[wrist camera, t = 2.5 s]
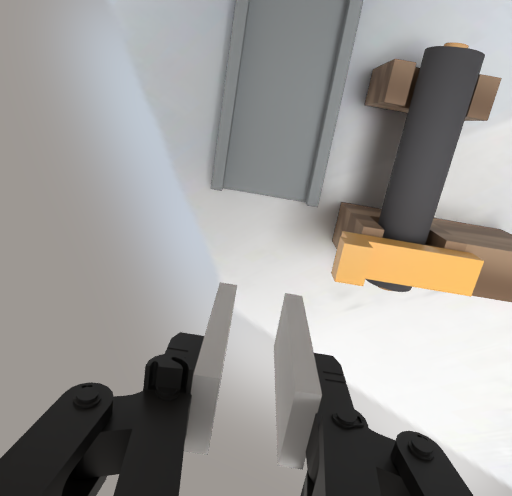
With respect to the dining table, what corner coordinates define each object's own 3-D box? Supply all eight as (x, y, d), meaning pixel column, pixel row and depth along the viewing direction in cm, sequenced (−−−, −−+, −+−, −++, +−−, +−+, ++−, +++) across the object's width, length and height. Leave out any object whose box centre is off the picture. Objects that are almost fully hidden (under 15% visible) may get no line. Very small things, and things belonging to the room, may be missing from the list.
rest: (373, 69, 35) (395, 58, 29) (461, 85, 35) (501, 78, 29) (364, 105, 36) (384, 102, 30) (450, 120, 36) (487, 120, 30)
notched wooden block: (341, 202, 38) (363, 226, 30) (500, 229, 39) (569, 261, 30) (332, 240, 40) (350, 275, 31) (486, 267, 40) (549, 308, 31)
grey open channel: (248, -72, 32) (247, -85, 30) (369, -49, 32) (376, -60, 30) (213, 185, 38) (210, 188, 36) (315, 202, 39) (317, 207, 37)
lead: (418, 45, 30) (440, 34, 26) (469, 54, 30) (499, 45, 26) (357, 274, 36) (368, 292, 32) (400, 281, 36) (416, 300, 32)
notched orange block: (335, 230, 30) (344, 243, 26) (471, 253, 30) (496, 269, 27) (327, 264, 31) (334, 281, 27) (459, 286, 31) (482, 306, 28)
